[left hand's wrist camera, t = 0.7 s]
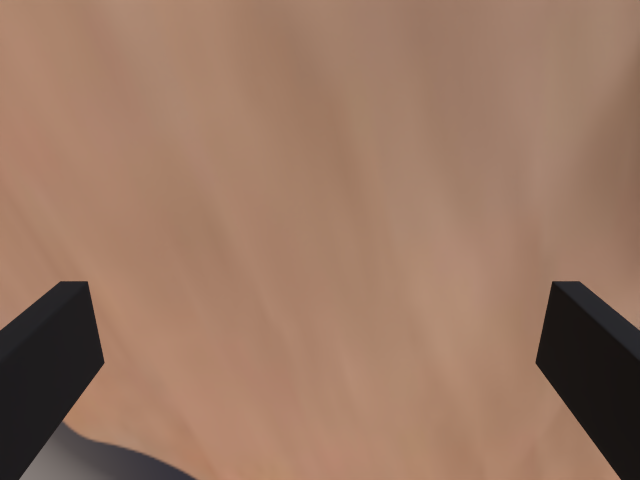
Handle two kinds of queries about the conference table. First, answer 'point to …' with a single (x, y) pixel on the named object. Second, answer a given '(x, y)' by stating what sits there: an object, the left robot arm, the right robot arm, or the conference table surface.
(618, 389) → the left robot arm
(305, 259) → the conference table surface
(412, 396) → the conference table surface
